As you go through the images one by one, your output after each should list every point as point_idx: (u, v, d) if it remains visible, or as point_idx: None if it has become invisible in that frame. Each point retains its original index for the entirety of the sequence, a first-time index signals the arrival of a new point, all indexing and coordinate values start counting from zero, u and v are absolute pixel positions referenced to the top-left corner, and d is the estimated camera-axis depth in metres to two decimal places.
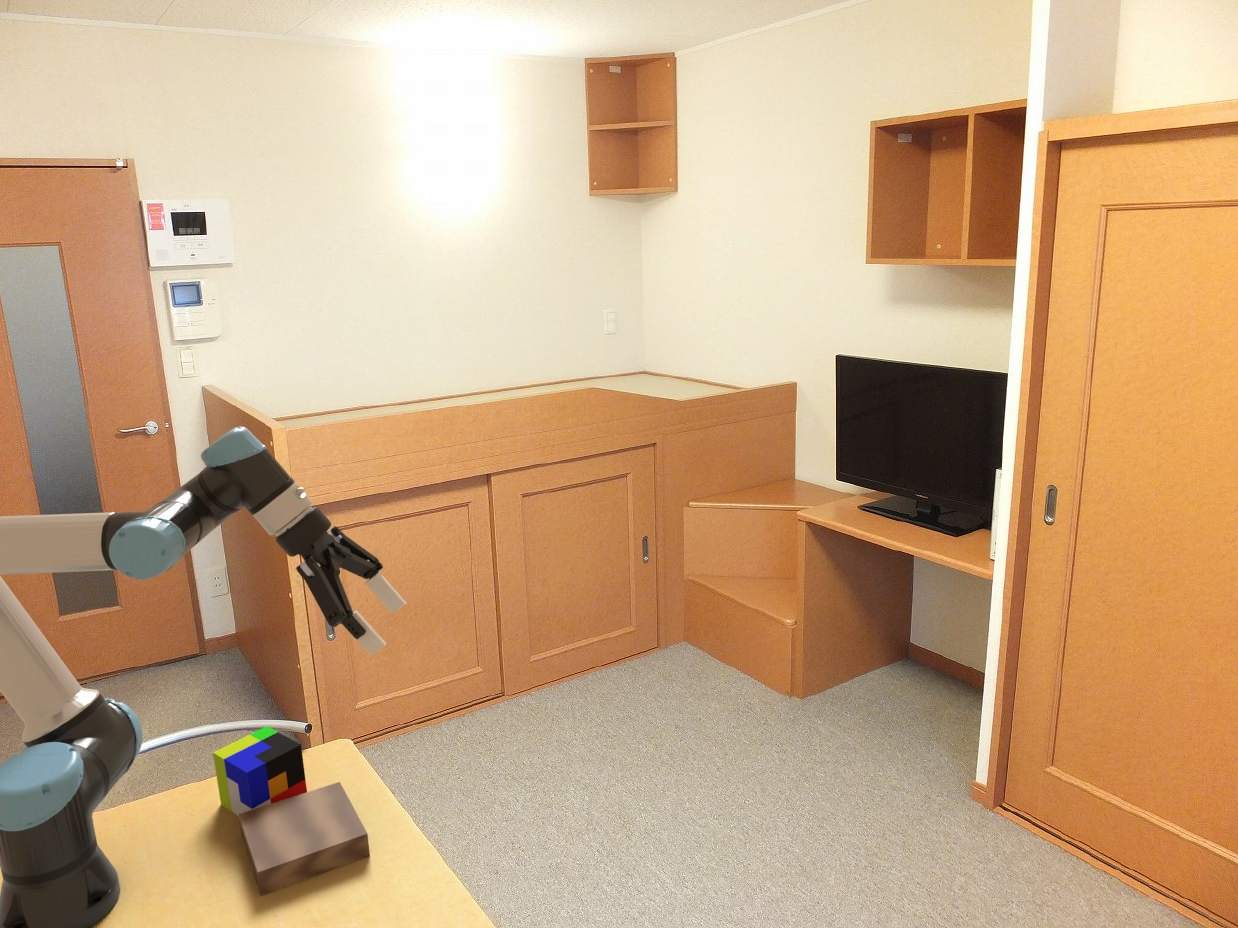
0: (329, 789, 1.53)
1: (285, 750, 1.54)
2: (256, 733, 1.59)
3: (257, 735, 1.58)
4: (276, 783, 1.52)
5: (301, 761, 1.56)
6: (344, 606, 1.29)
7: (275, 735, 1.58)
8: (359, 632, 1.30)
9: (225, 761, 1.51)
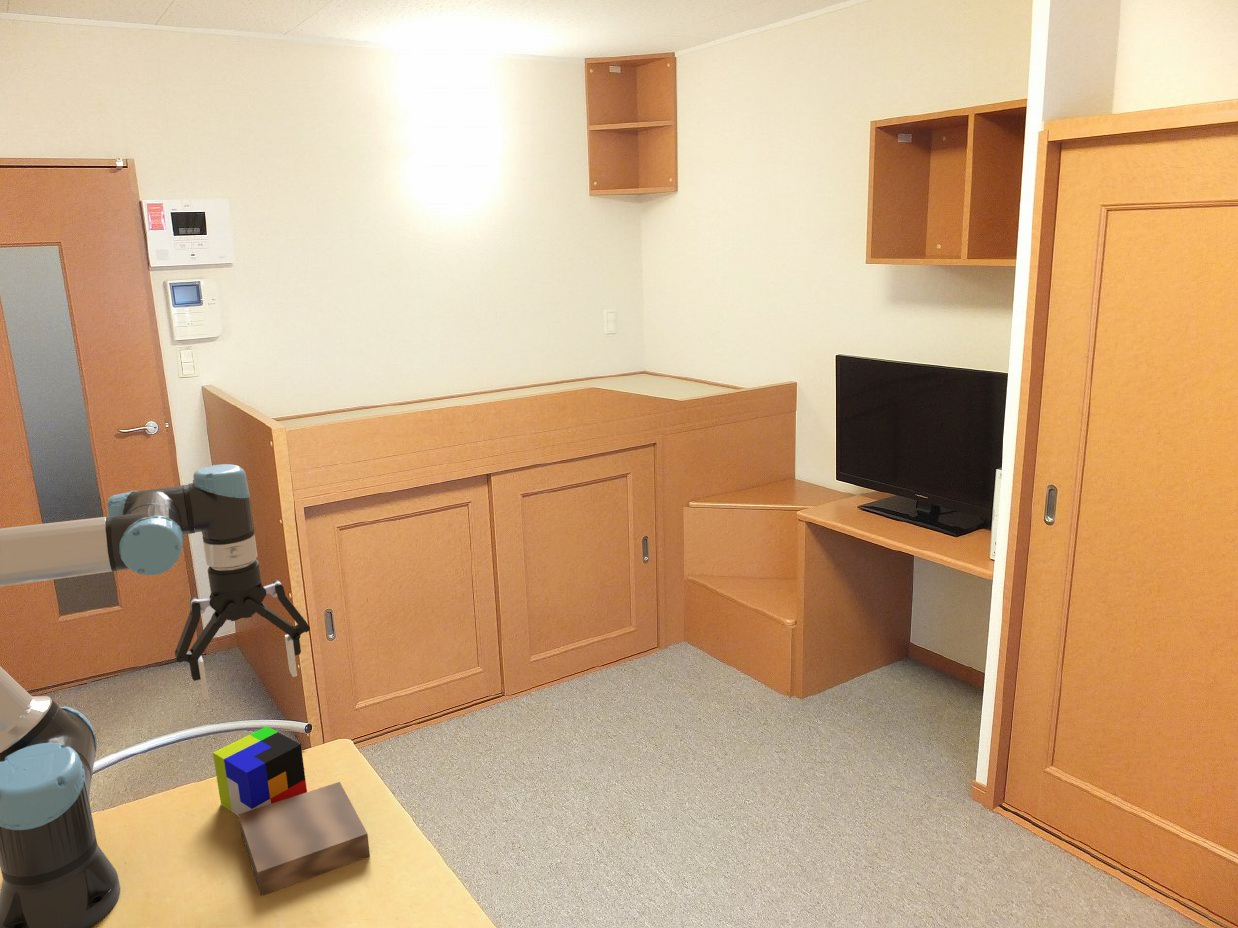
0: (329, 789, 1.53)
1: (285, 750, 1.54)
2: (256, 733, 1.59)
3: (257, 735, 1.58)
4: (275, 782, 1.52)
5: (301, 761, 1.56)
6: (193, 652, 1.44)
7: (275, 735, 1.58)
8: None
9: (225, 761, 1.51)
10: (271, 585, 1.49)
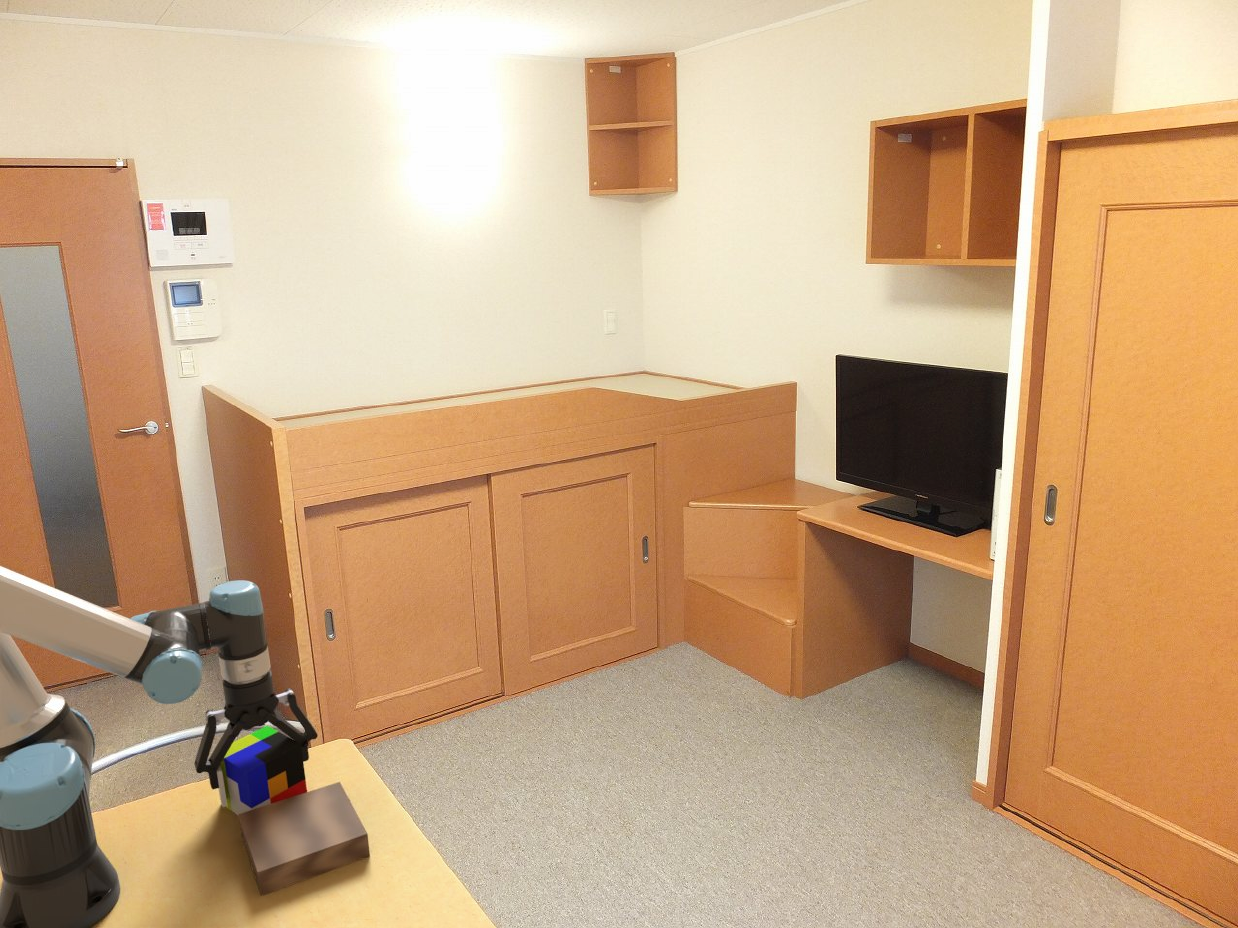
0: (329, 789, 1.53)
1: (285, 749, 1.53)
2: (257, 732, 1.59)
3: (257, 734, 1.58)
4: (275, 782, 1.52)
5: (301, 761, 1.56)
6: (211, 763, 1.50)
7: (275, 735, 1.58)
8: None
9: (225, 760, 1.51)
10: (284, 694, 1.55)
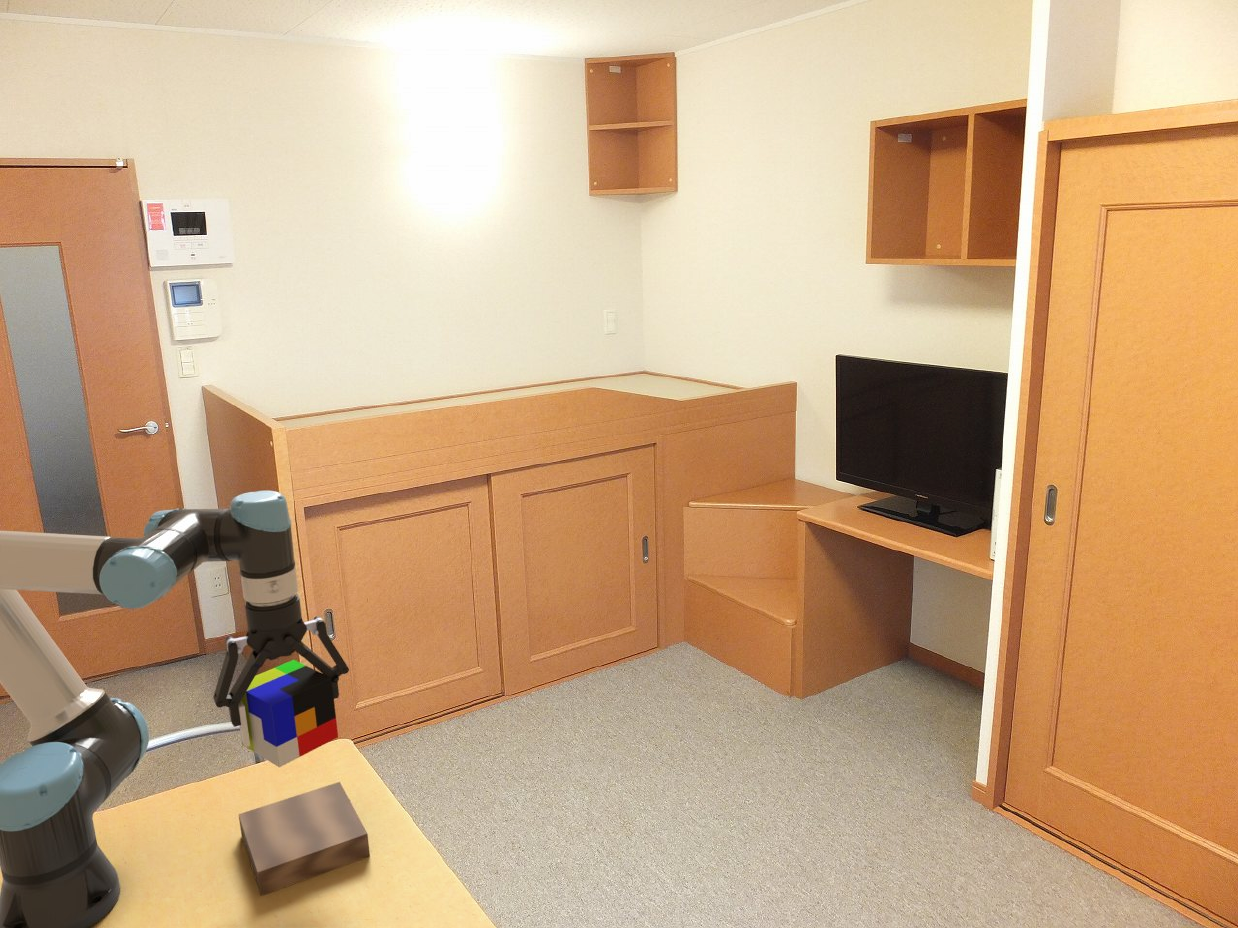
0: (329, 789, 1.53)
1: (314, 683, 1.37)
2: (282, 666, 1.43)
3: (283, 668, 1.42)
4: (303, 719, 1.36)
5: (331, 697, 1.39)
6: (233, 697, 1.34)
7: (303, 669, 1.42)
8: None
9: (248, 694, 1.35)
10: (312, 621, 1.38)
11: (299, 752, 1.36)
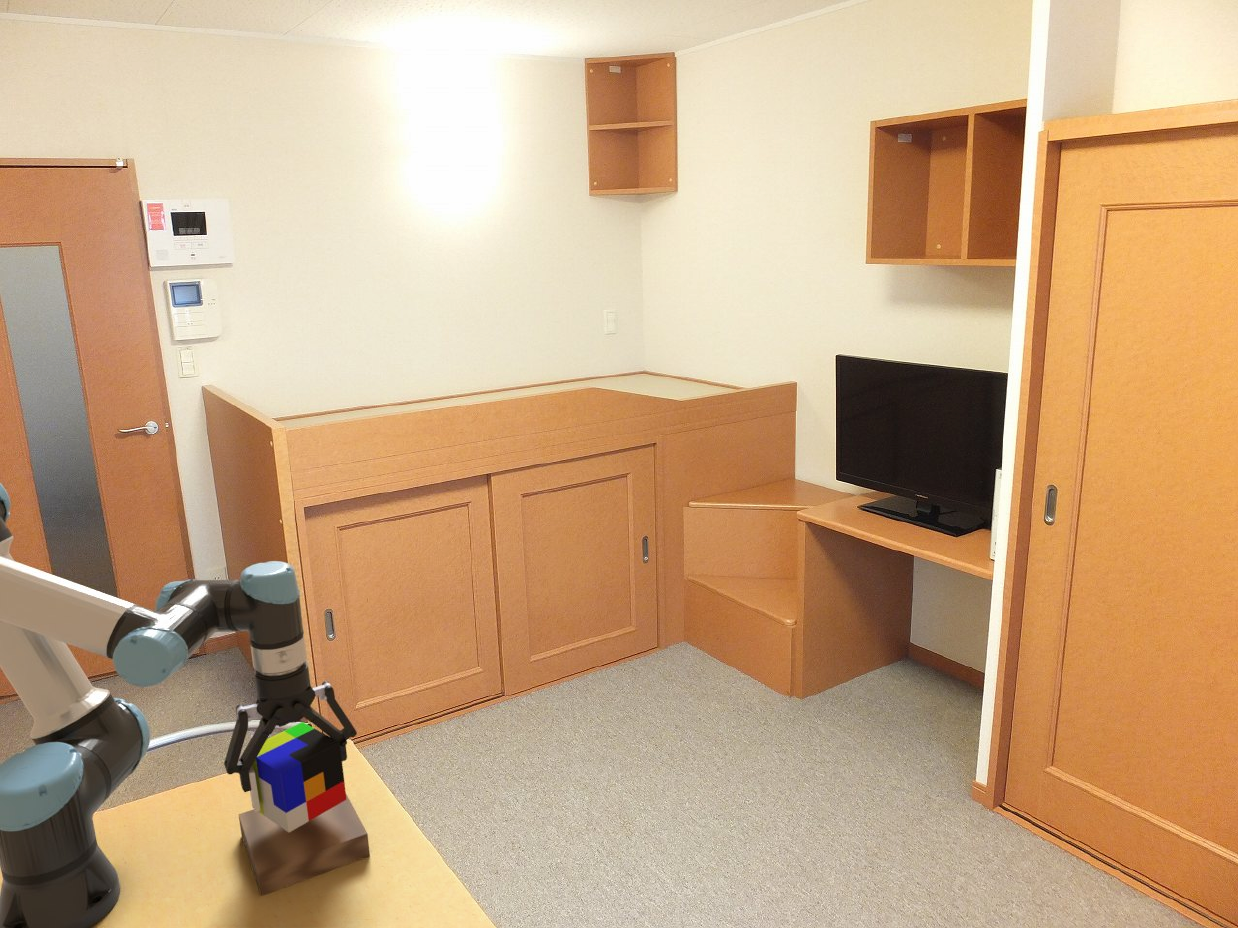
0: None
1: (322, 748, 1.40)
2: (291, 729, 1.45)
3: (292, 732, 1.44)
4: (312, 784, 1.38)
5: (340, 761, 1.42)
6: (243, 763, 1.36)
7: (312, 732, 1.44)
8: (242, 787, 1.37)
9: (258, 760, 1.38)
10: (321, 687, 1.41)
11: (308, 816, 1.39)
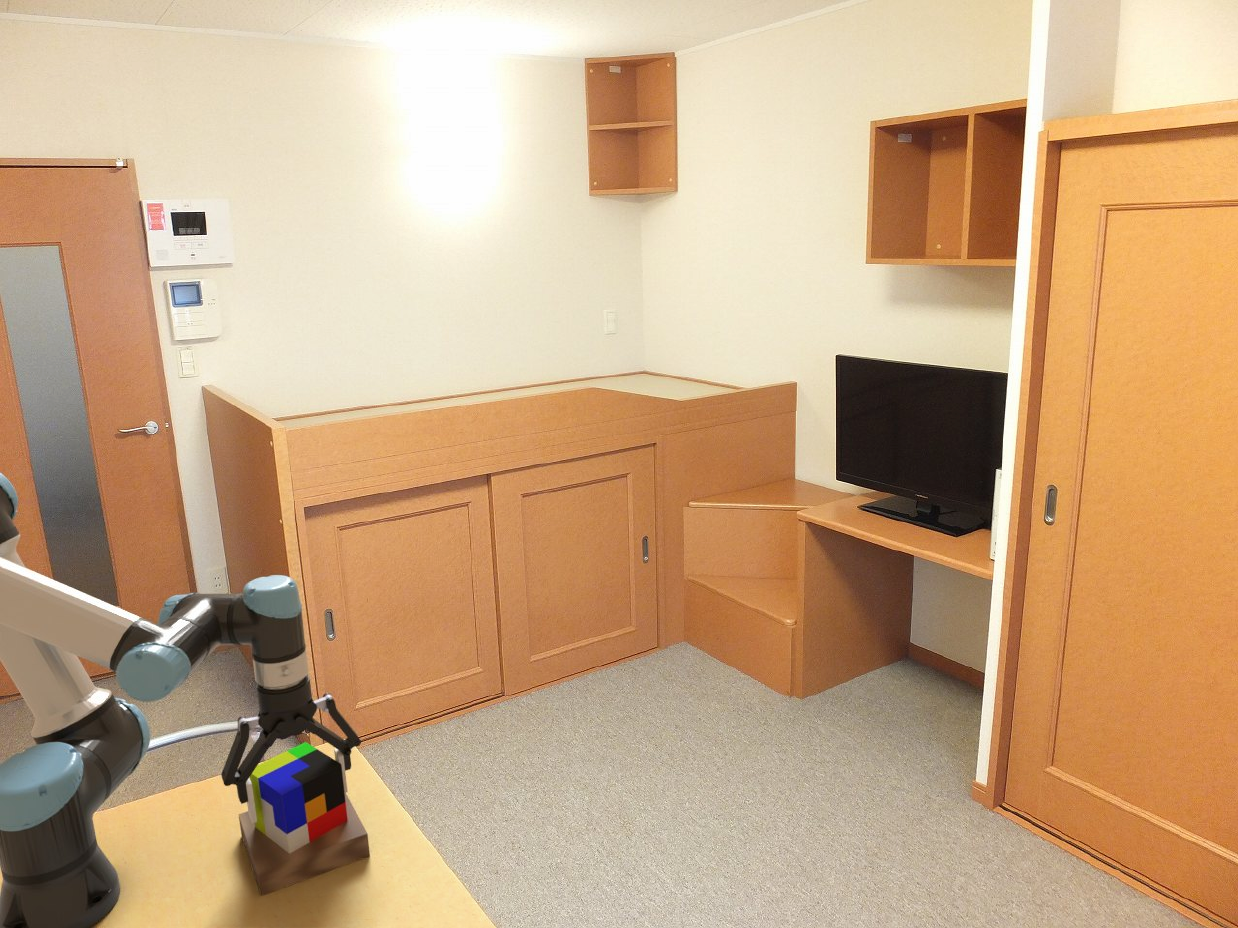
0: None
1: (324, 770, 1.40)
2: (294, 749, 1.46)
3: (295, 752, 1.45)
4: (313, 806, 1.39)
5: (341, 782, 1.43)
6: (241, 775, 1.36)
7: (314, 753, 1.45)
8: (239, 799, 1.38)
9: (260, 781, 1.39)
10: (322, 699, 1.41)
11: (309, 838, 1.39)
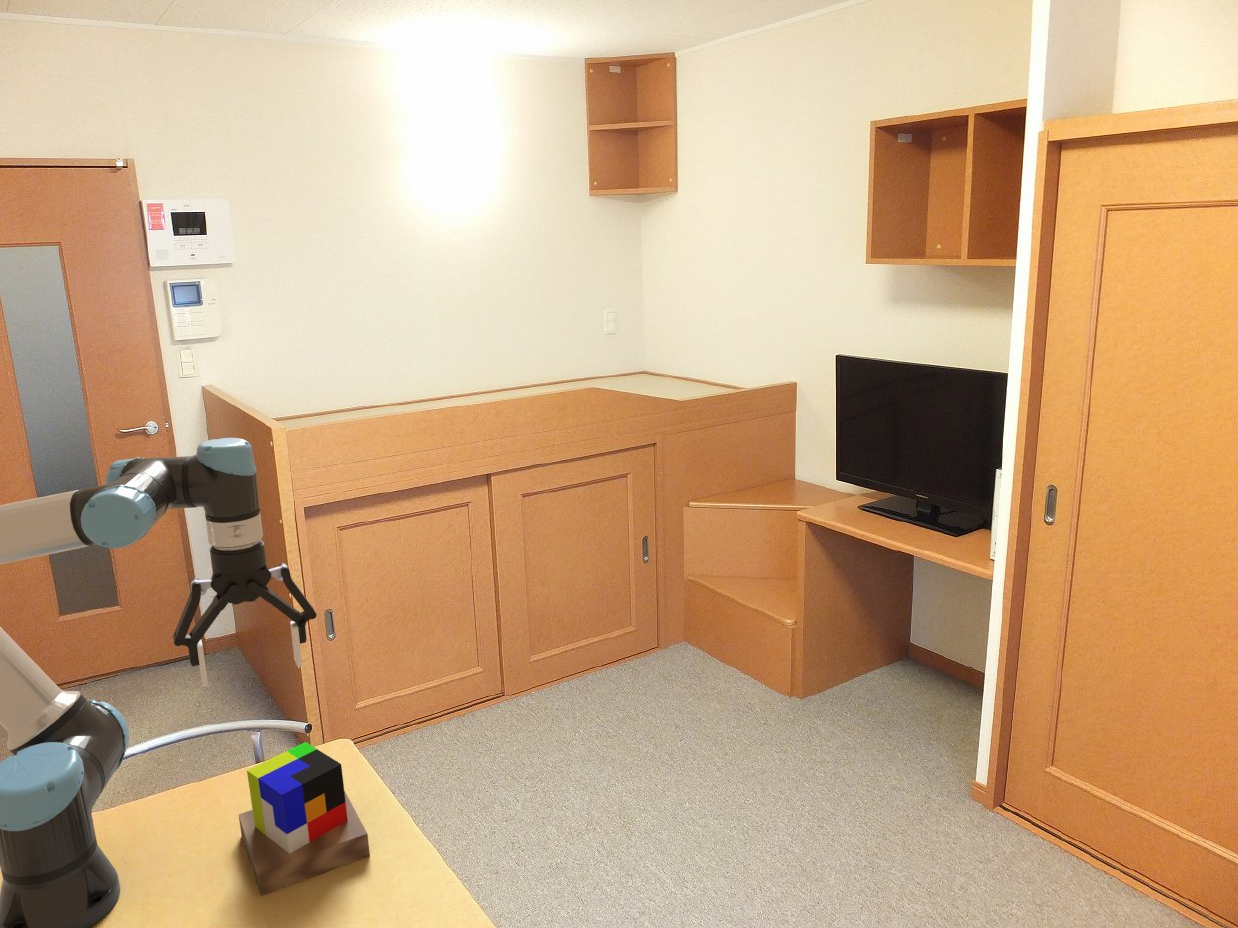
0: None
1: (324, 770, 1.40)
2: (294, 749, 1.46)
3: (295, 752, 1.45)
4: (313, 806, 1.39)
5: (341, 782, 1.43)
6: (192, 636, 1.36)
7: (314, 753, 1.45)
8: (190, 661, 1.38)
9: (260, 781, 1.39)
10: (277, 568, 1.41)
11: (309, 838, 1.39)
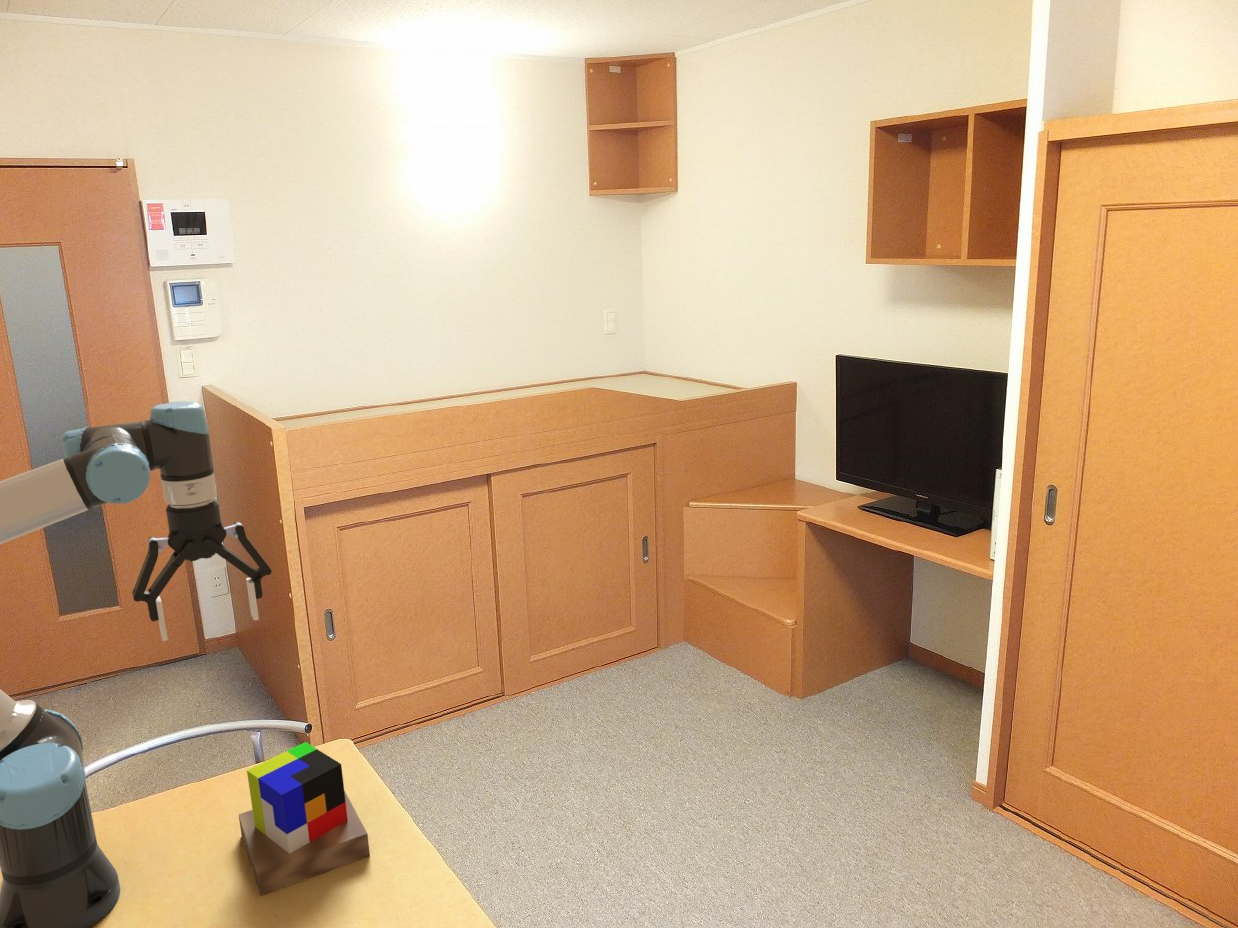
0: None
1: (324, 770, 1.40)
2: (294, 749, 1.46)
3: (295, 752, 1.45)
4: (313, 806, 1.39)
5: (341, 782, 1.43)
6: (150, 592, 1.42)
7: (314, 753, 1.45)
8: None
9: (260, 781, 1.39)
10: (231, 526, 1.48)
11: (309, 838, 1.39)
